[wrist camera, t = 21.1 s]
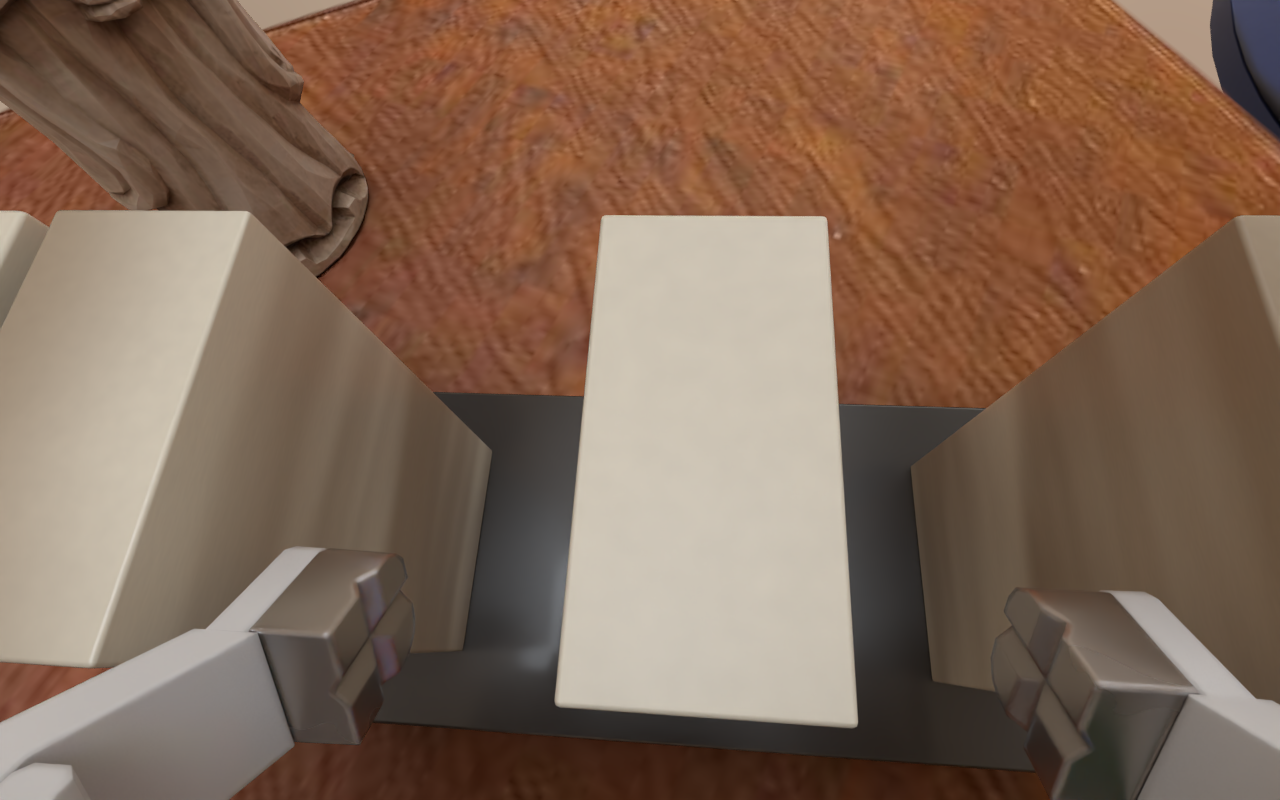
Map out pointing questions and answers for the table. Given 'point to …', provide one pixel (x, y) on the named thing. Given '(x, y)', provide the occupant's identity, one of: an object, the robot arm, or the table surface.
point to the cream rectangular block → (710, 479)
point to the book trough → (546, 475)
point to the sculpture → (182, 114)
